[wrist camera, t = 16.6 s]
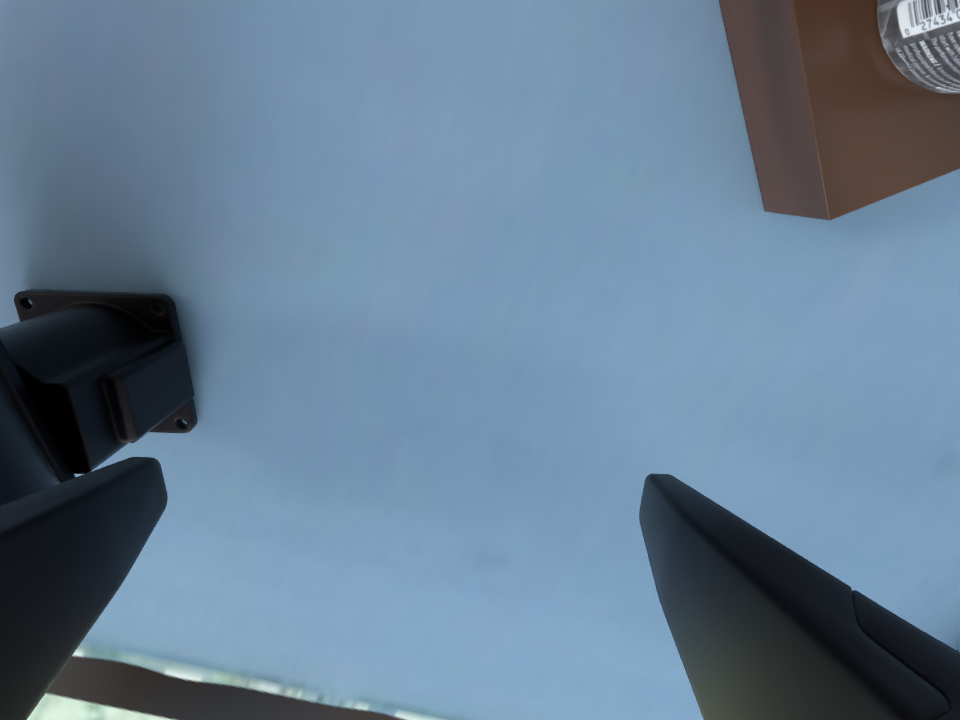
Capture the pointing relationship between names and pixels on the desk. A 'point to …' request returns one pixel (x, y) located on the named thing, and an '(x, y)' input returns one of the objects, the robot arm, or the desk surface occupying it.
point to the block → (833, 107)
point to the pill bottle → (923, 41)
